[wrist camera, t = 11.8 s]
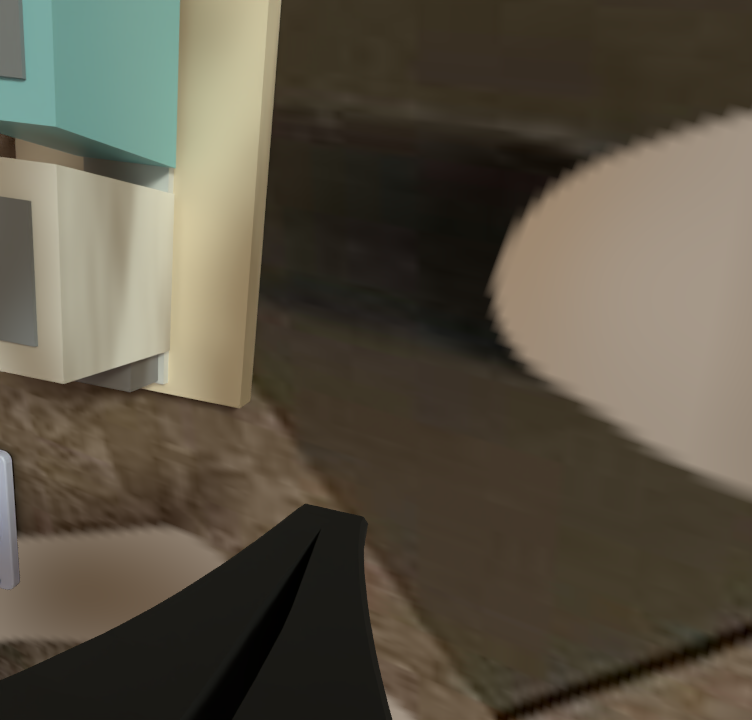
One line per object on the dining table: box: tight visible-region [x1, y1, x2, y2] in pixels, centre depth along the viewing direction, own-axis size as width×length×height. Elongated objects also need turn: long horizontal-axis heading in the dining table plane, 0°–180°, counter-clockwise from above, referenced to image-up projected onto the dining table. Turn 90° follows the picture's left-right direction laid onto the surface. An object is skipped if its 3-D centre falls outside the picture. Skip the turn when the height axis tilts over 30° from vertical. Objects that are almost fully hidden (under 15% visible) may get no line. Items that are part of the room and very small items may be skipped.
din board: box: [0, 0, 281, 408], centre depth 13 cm, size 10×24×6 cm, turn 172°
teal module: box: [0, 0, 180, 168], centre depth 13 cm, size 4×6×5 cm, turn 172°
